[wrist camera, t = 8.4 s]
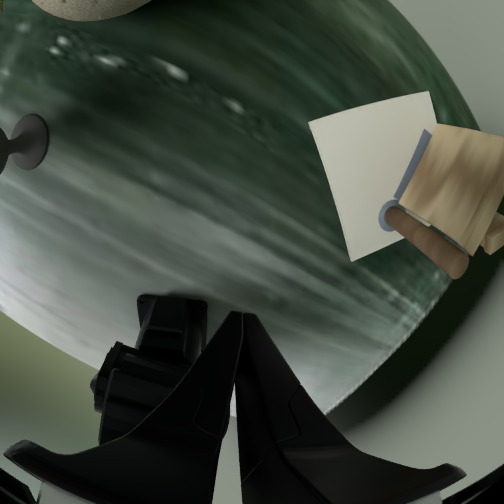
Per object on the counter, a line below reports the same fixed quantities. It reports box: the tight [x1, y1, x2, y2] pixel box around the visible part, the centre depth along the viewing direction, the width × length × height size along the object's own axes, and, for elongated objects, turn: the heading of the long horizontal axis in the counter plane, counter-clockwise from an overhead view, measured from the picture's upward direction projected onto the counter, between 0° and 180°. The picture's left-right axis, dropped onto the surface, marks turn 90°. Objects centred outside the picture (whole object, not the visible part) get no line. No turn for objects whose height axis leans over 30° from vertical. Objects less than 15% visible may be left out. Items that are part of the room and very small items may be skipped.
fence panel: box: [399, 124, 504, 256], centre depth 15 cm, size 9×1×9 cm, turn 155°
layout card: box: [308, 91, 437, 262], centre depth 20 cm, size 12×12×1 cm
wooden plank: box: [384, 206, 504, 279], centre depth 17 cm, size 8×2×9 cm, turn 112°
